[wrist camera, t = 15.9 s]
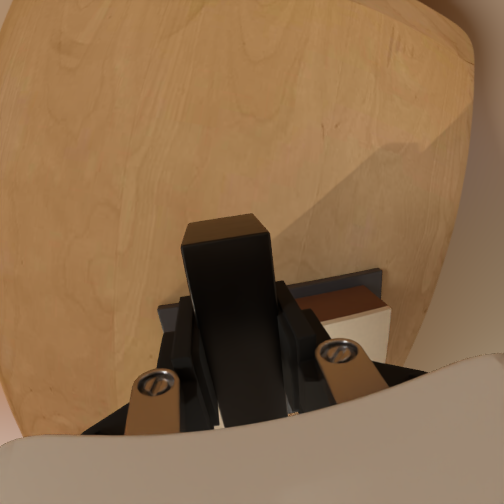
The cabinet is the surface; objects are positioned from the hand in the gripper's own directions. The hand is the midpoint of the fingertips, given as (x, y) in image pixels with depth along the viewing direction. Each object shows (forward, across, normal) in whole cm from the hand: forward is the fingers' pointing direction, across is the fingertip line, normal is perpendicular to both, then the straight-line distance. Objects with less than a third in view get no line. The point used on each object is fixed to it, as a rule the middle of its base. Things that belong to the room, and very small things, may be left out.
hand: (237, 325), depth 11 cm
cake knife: (+1, 0, +5) cm, 5 cm away
